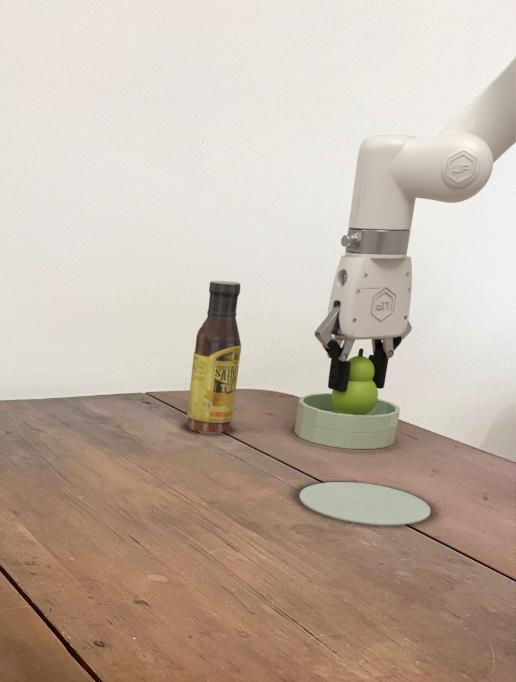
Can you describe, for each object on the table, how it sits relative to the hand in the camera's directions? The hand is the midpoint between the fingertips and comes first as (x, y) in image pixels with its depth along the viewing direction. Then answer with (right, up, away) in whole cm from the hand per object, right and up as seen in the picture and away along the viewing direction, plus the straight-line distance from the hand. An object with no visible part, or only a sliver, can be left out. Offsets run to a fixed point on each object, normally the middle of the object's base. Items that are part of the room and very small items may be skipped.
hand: (355, 386), depth 123 cm
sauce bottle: (-19, -5, +6) cm, 20 cm away
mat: (-6, -18, -22) cm, 29 cm away
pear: (0, -4, +2) cm, 4 cm away
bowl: (-1, -7, +3) cm, 7 cm away
